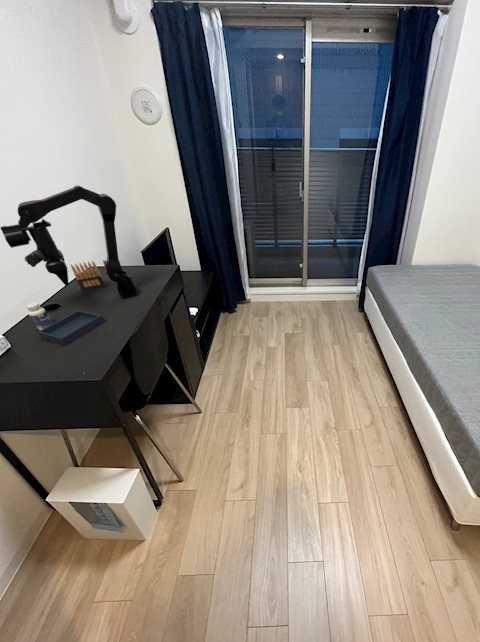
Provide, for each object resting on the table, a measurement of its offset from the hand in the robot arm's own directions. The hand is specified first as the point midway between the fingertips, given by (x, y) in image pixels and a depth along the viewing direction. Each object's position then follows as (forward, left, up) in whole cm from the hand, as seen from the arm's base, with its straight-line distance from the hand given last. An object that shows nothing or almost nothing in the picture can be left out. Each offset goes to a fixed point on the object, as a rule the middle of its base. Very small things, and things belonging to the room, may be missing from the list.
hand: (66, 281), depth 131 cm
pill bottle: (+13, +8, -12) cm, 20 cm away
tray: (+4, +18, -12) cm, 22 cm away
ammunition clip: (-8, -20, -12) cm, 25 cm away
